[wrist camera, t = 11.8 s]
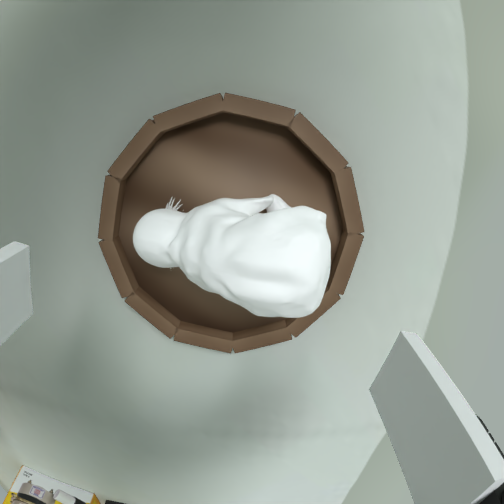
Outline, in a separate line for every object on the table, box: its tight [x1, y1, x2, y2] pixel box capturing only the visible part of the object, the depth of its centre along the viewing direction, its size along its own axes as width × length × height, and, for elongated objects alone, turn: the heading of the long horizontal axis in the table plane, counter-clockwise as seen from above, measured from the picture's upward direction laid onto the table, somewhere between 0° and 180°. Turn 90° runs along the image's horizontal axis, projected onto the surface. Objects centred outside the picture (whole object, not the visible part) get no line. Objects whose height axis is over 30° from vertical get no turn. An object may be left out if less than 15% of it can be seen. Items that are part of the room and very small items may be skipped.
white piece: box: [133, 194, 331, 318], centre depth 19 cm, size 6×8×12 cm
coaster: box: [98, 93, 364, 353], centre depth 22 cm, size 18×18×2 cm
